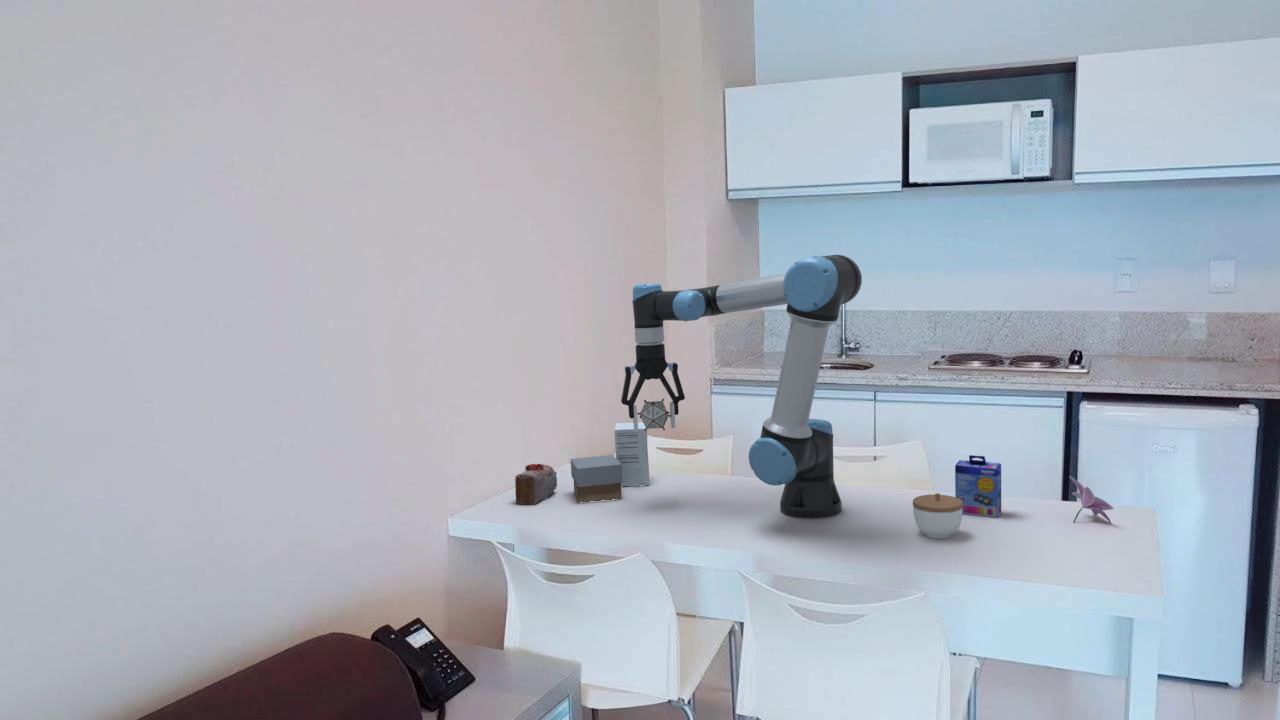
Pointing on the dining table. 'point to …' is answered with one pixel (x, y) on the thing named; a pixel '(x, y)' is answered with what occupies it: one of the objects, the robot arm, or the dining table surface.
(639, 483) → the supplement box
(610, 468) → the tower top
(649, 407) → the game die
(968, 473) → the ink cartridge box
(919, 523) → the lidded jar
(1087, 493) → the lily
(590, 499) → the tower base
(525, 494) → the food item
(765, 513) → the dining table surface
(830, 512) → the robot arm
